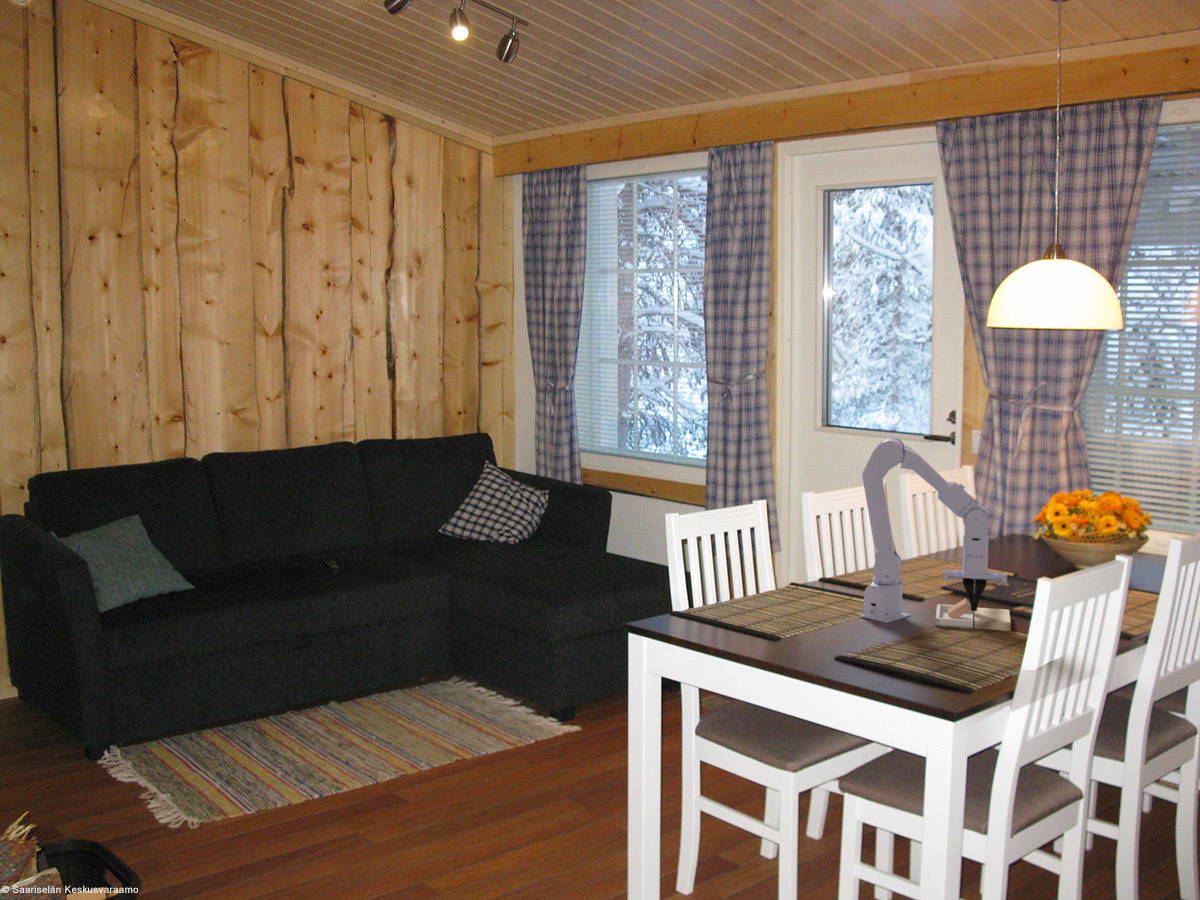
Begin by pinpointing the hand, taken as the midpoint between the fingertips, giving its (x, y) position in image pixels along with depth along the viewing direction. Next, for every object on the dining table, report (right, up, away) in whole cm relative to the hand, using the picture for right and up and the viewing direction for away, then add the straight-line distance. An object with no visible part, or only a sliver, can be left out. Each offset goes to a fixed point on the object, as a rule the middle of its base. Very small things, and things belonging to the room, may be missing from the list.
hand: (973, 609), depth 267 cm
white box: (+4, -3, -1) cm, 5 cm away
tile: (-3, -1, +1) cm, 3 cm away
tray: (-4, -3, +2) cm, 5 cm away
